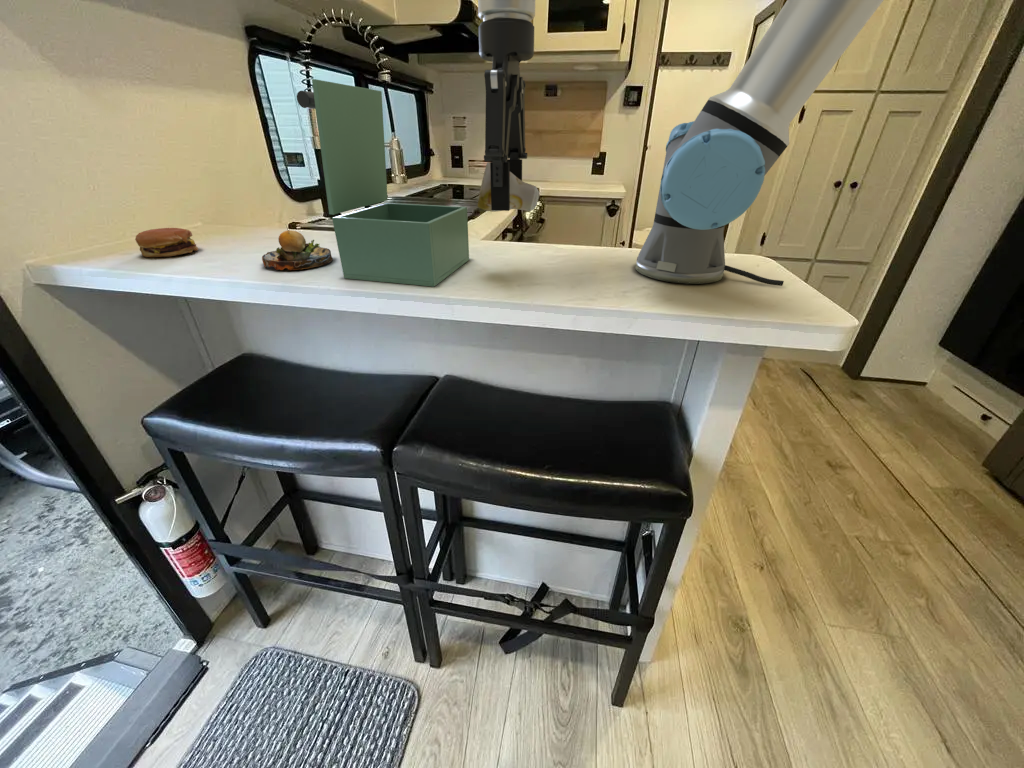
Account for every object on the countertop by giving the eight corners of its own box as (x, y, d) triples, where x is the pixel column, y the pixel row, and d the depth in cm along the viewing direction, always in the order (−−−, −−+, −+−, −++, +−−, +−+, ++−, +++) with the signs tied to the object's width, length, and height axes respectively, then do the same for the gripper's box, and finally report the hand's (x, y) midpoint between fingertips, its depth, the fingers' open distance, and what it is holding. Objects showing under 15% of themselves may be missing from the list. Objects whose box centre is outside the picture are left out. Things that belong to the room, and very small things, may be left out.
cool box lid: (381, 91, 71) (339, 86, 72) (316, 79, 56) (265, 73, 57) (387, 200, 80) (350, 194, 81) (333, 214, 65) (288, 207, 67)
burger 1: (136, 252, 83) (126, 228, 81) (190, 245, 89) (182, 222, 87) (148, 262, 78) (137, 236, 75) (205, 254, 84) (196, 229, 81)
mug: (545, 216, 64) (515, 153, 58) (492, 242, 68) (458, 185, 62) (546, 197, 70) (518, 137, 64) (496, 222, 73) (466, 168, 67)
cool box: (469, 259, 82) (467, 206, 77) (434, 286, 67) (428, 223, 62) (393, 253, 85) (386, 202, 80) (344, 278, 71) (331, 217, 66)
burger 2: (343, 256, 83) (335, 216, 79) (313, 272, 73) (303, 228, 69) (286, 254, 84) (276, 214, 80) (249, 270, 74) (235, 226, 70)
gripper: (499, 38, 64) (501, 197, 76) (452, 2, 47) (464, 215, 59) (547, 36, 63) (541, 199, 75) (515, -2, 46) (515, 217, 57)
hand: (507, 206), depth 67 cm, fingers closed on mug, 8 cm apart
